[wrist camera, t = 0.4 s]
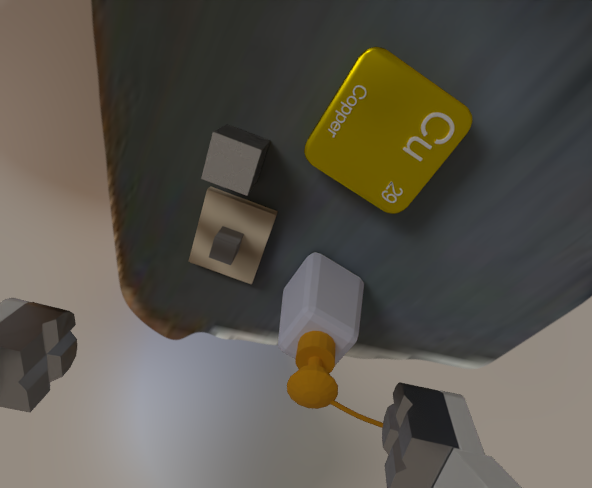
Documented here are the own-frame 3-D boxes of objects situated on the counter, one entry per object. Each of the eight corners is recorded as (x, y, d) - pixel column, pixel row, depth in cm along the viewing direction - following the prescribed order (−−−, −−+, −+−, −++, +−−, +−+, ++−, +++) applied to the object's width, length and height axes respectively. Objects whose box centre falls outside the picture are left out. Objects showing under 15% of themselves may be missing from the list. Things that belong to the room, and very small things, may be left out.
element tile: (368, 39, 46) (371, 38, 42) (470, 112, 48) (483, 117, 44) (301, 149, 52) (296, 157, 48) (393, 209, 54) (397, 222, 50)
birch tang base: (210, 186, 55) (197, 199, 51) (277, 211, 56) (271, 226, 51) (192, 257, 61) (178, 274, 56) (253, 279, 61) (245, 299, 56)
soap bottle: (354, 334, 63) (357, 462, 43) (280, 291, 62) (248, 403, 42) (391, 293, 59) (414, 412, 39) (313, 245, 58) (296, 345, 38)
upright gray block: (227, 123, 52) (213, 131, 46) (270, 140, 52) (261, 150, 46) (215, 166, 54) (201, 178, 49) (257, 182, 54) (247, 195, 49)
